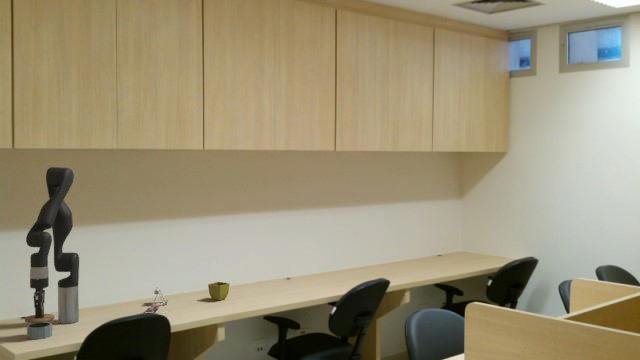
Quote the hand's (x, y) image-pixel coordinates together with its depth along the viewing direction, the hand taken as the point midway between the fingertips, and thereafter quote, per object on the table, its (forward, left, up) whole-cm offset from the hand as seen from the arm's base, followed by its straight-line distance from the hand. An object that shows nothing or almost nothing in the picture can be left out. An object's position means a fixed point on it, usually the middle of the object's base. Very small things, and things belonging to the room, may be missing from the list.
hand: (39, 315), depth 289 cm
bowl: (0, 0, -9) cm, 9 cm away
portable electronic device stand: (-65, +38, -10) cm, 76 cm away
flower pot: (-76, +68, -9) cm, 102 cm away
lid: (0, 0, -2) cm, 2 cm away
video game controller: (-38, +39, -10) cm, 56 cm away
